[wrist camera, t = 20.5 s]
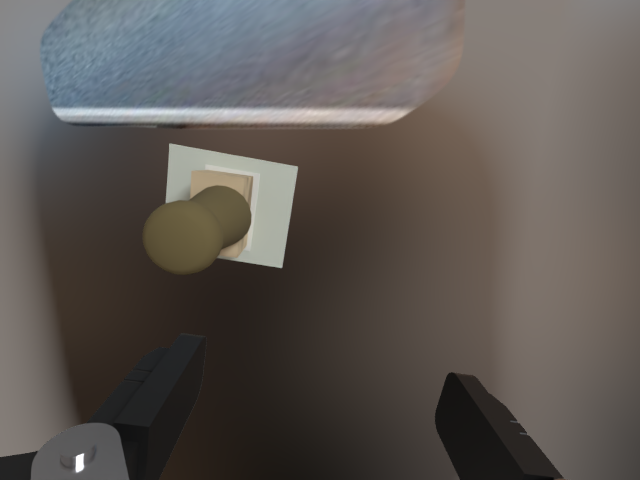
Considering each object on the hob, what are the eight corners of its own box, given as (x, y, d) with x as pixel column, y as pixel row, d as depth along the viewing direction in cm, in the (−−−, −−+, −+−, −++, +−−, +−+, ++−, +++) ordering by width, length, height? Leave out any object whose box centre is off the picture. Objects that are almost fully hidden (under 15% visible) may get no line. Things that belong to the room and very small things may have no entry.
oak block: (207, 169, 35) (191, 170, 30) (253, 176, 35) (244, 178, 30) (203, 239, 37) (187, 251, 32) (246, 245, 37) (237, 257, 32)
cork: (185, 238, 32) (121, 277, 21) (194, 178, 30) (130, 186, 19) (245, 251, 32) (213, 296, 21) (257, 193, 31) (228, 209, 20)
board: (172, 144, 35) (169, 143, 34) (298, 166, 36) (297, 166, 35) (165, 247, 38) (162, 249, 37) (282, 266, 39) (281, 268, 38)
